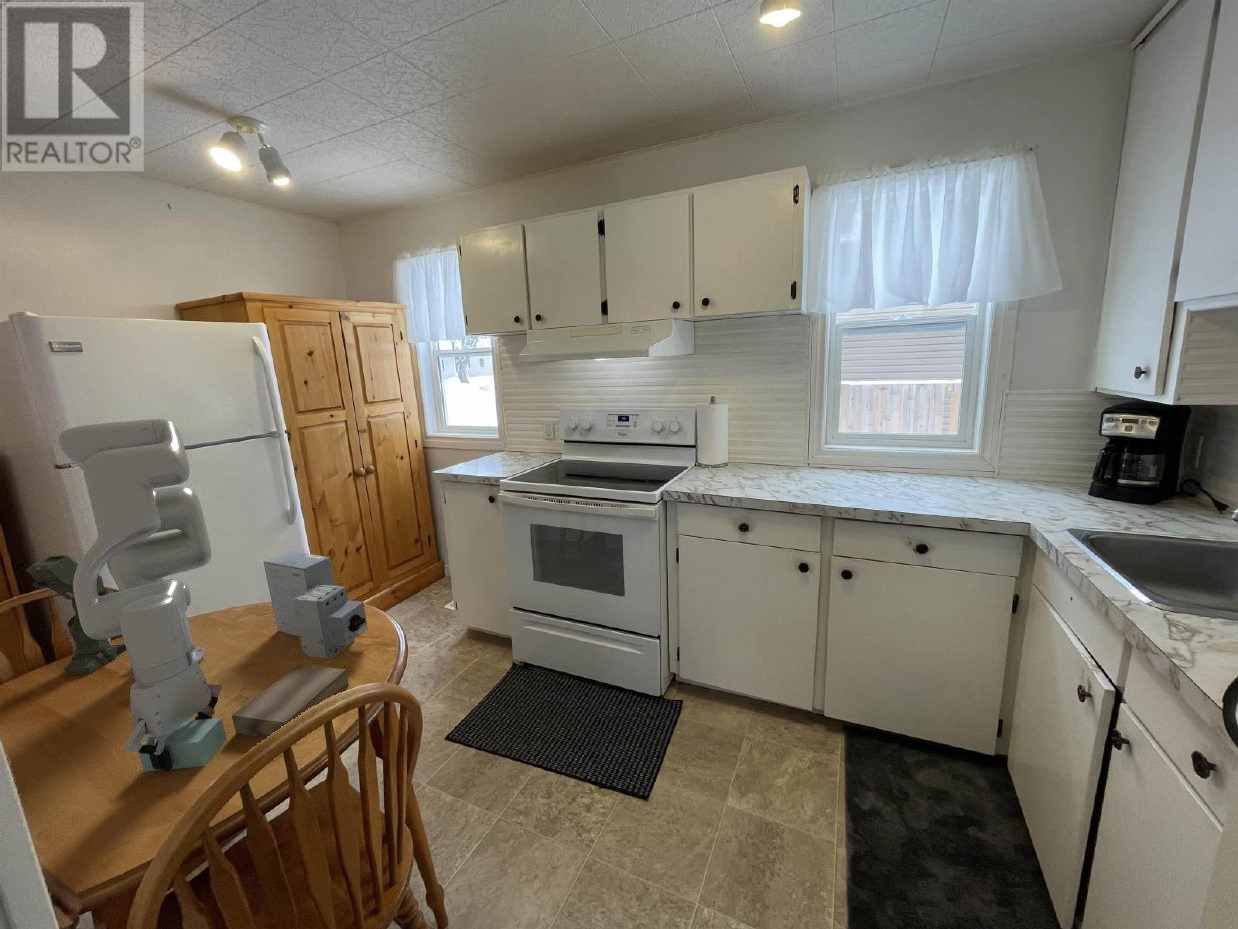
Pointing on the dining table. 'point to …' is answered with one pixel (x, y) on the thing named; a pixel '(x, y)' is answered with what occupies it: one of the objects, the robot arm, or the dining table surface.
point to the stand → (288, 699)
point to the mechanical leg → (60, 578)
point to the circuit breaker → (328, 620)
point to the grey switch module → (294, 584)
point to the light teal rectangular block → (191, 744)
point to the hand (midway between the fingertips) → (186, 751)
